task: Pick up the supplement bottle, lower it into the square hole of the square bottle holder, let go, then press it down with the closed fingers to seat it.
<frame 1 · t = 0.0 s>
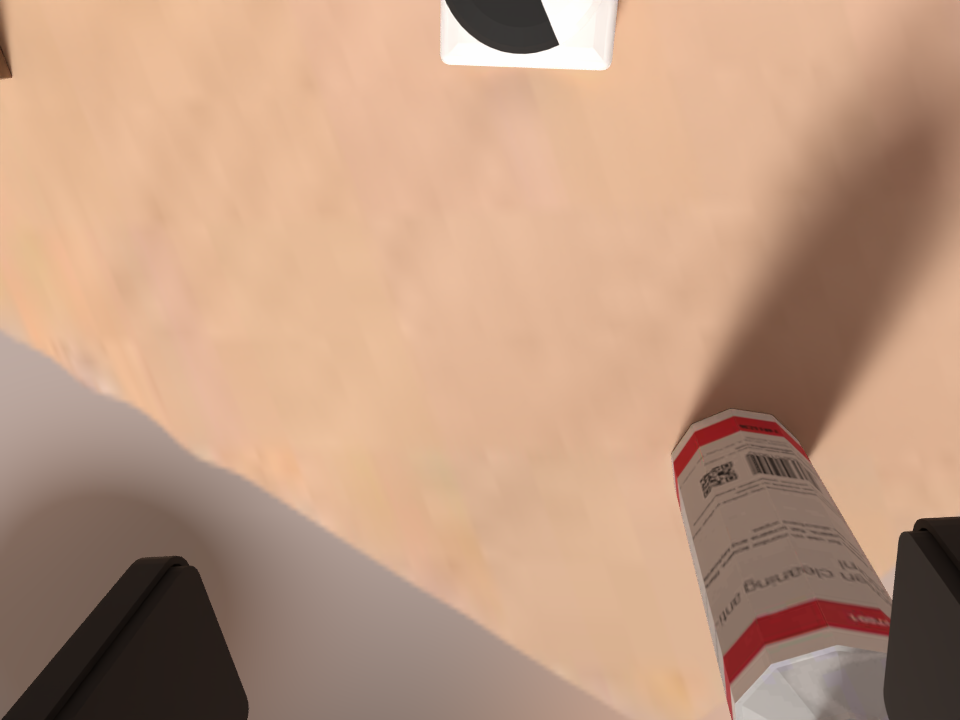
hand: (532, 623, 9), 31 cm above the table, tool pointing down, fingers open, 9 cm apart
spray bottle: (733, 462, 44), on the table
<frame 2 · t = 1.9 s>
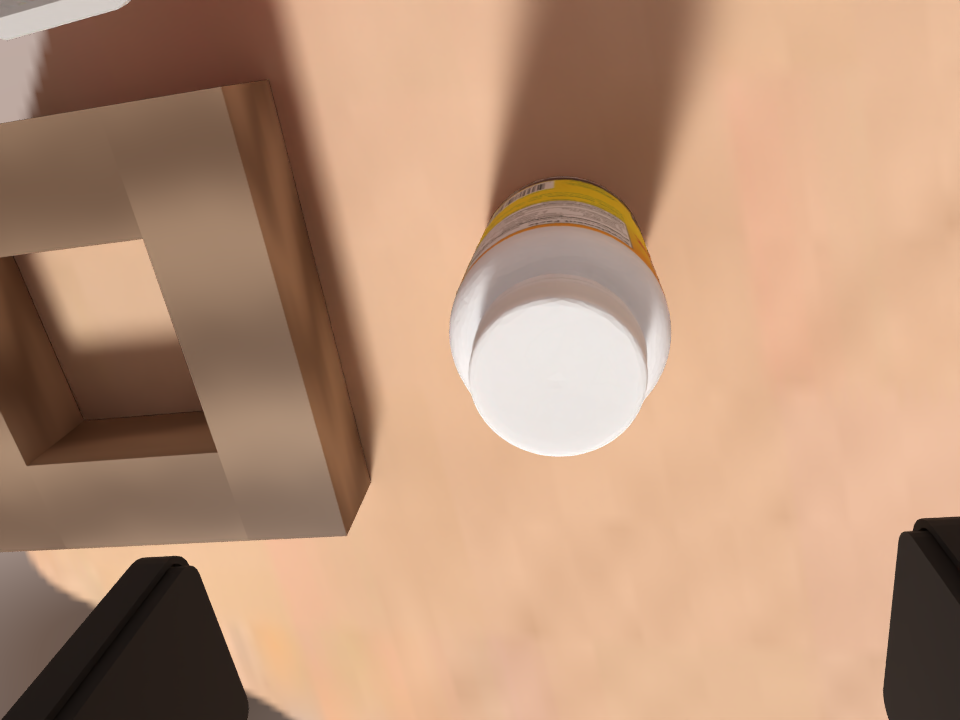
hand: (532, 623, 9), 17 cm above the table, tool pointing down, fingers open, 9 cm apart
square bottle holder: (135, 325, 28), on the table
supplement bottle: (562, 251, 25), on the table
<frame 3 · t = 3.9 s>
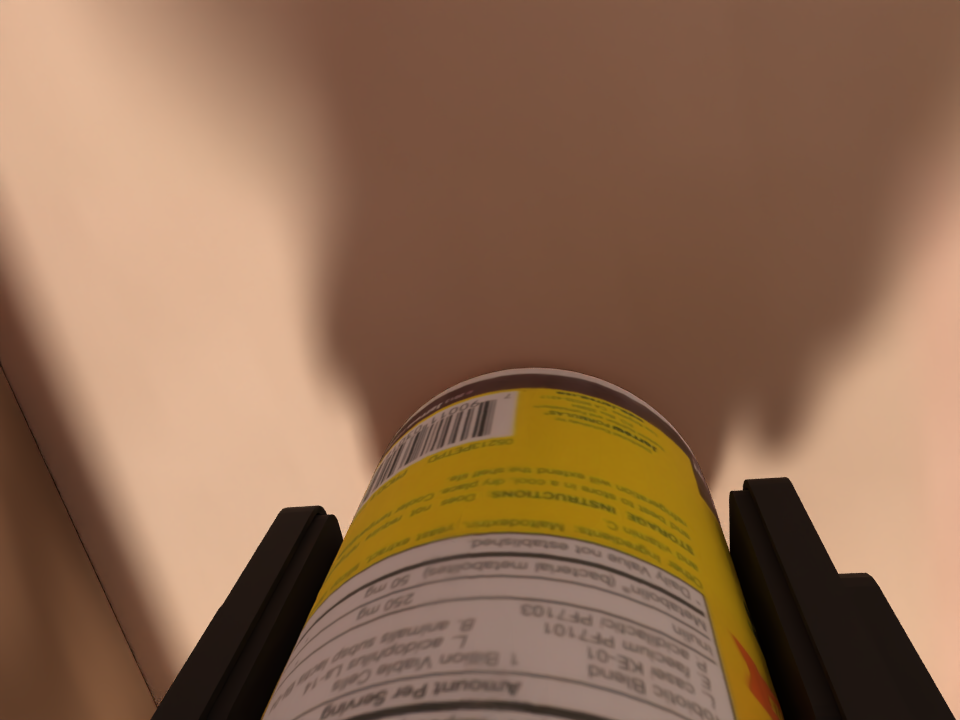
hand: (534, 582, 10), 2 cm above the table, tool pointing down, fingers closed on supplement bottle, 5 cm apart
supplement bottle: (540, 492, 12), on the table, touching gripper
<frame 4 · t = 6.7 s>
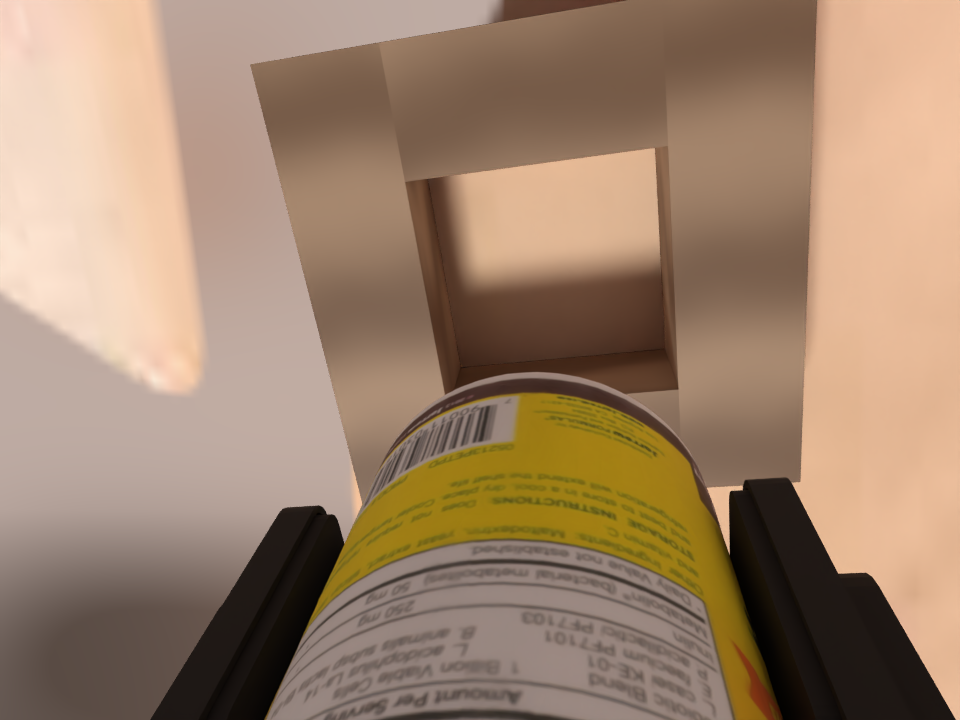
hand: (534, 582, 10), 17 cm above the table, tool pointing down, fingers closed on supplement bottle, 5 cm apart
square bottle holder: (549, 260, 26), on the table
supplement bottle: (540, 496, 12), point 15 cm above the table, touching gripper
when the fingers open (4 cm above the table, at t = 9.6 s): supplement bottle drops 2 cm, resting in square bottle holder.
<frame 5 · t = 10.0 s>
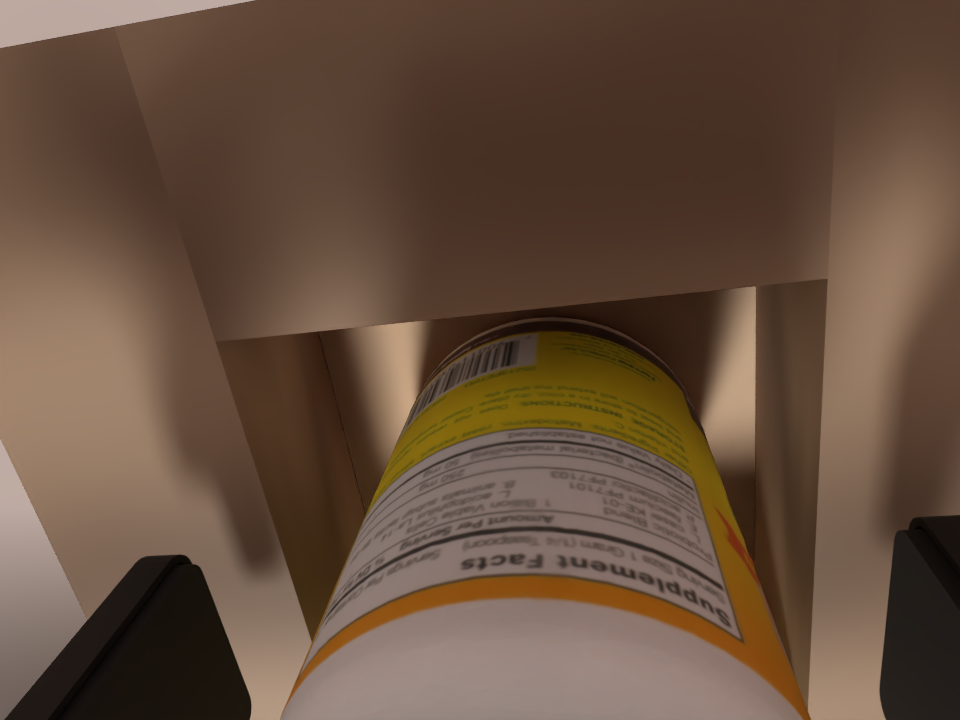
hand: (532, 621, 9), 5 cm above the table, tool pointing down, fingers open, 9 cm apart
square bottle holder: (543, 441, 14), on the table
supplement bottle: (553, 432, 14), resting in square bottle holder
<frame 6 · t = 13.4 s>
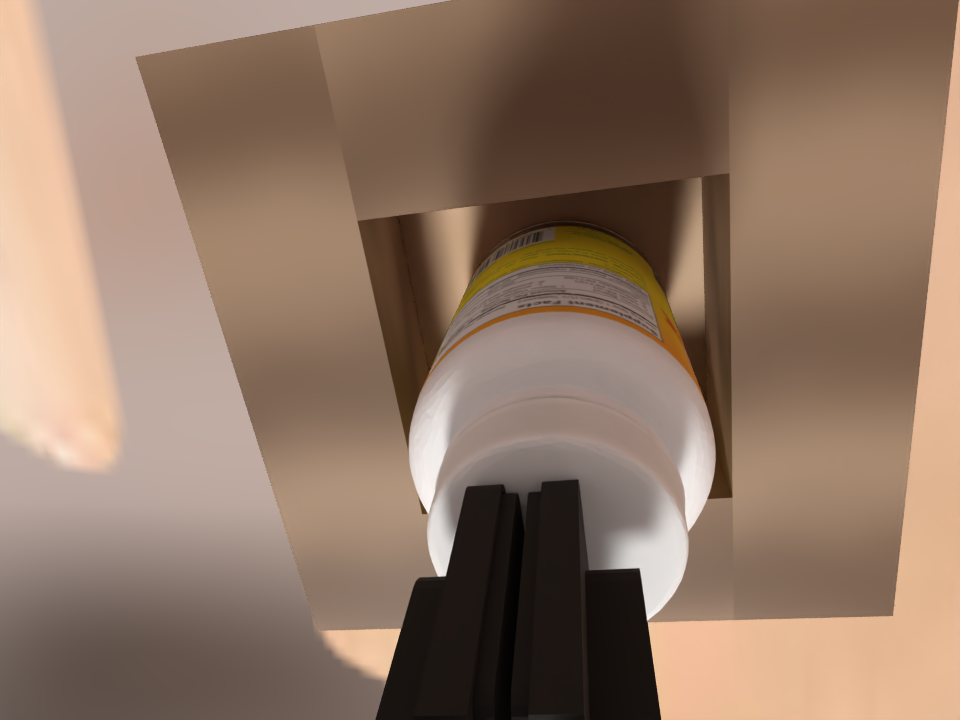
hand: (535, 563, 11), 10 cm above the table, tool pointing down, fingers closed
square bottle holder: (557, 314, 20), on the table
supplement bottle: (564, 309, 20), resting in square bottle holder, touching gripper
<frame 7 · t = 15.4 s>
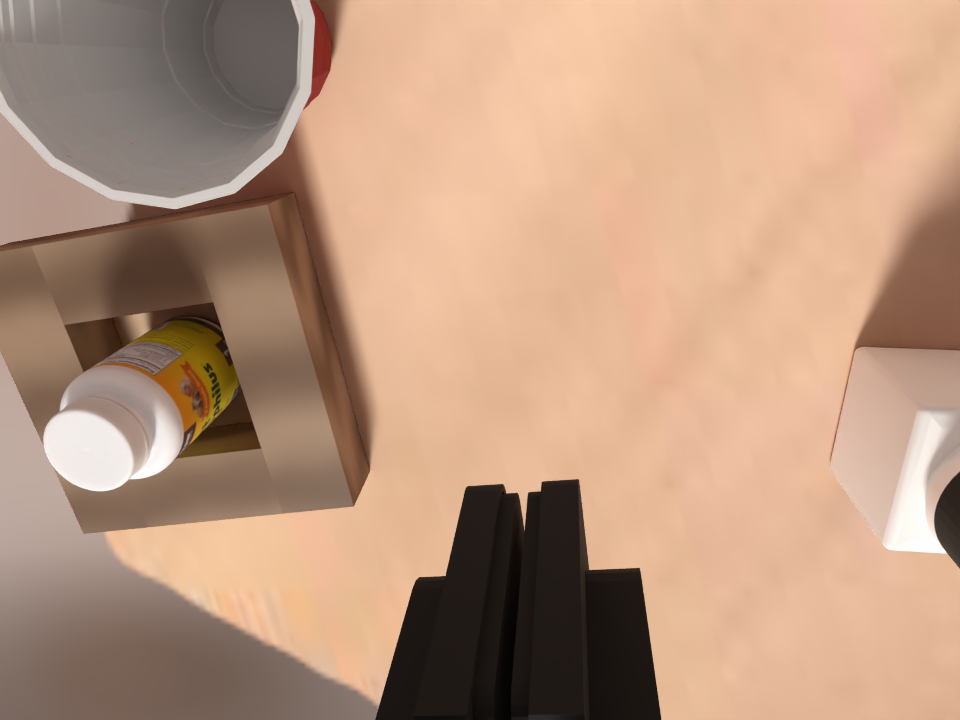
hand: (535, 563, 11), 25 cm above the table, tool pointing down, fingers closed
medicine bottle: (910, 410, 36), on the table
square bottle holder: (197, 361, 39), on the table
supplement bottle: (202, 358, 39), resting in square bottle holder
plastic cup: (277, 44, 32), on the table
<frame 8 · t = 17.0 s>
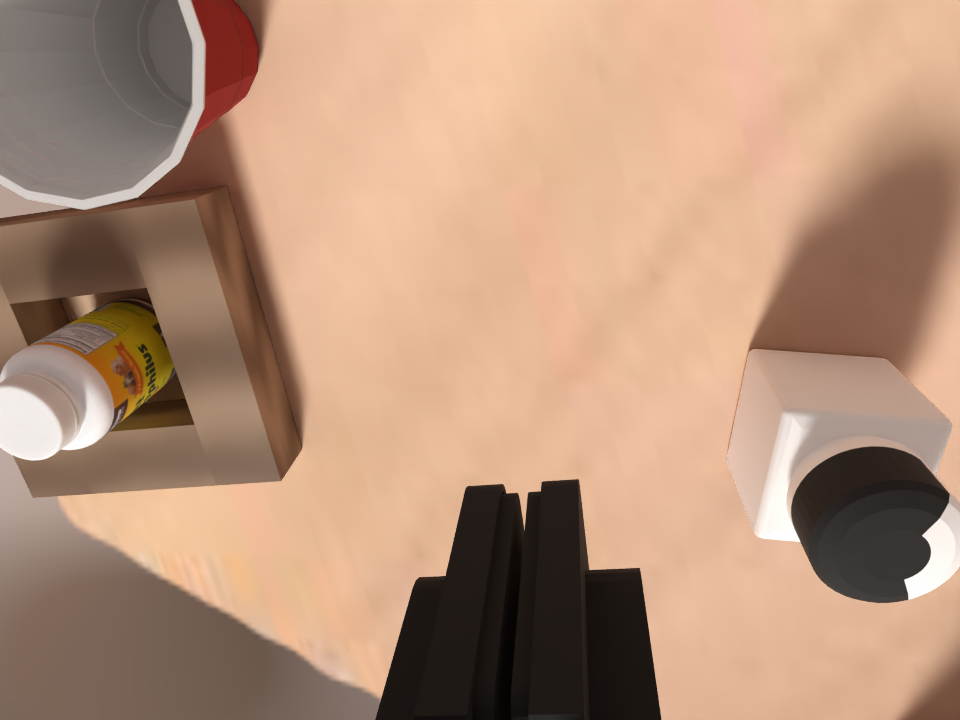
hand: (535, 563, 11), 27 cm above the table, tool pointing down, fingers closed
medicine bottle: (801, 409, 38), on the table
square bottle holder: (140, 341, 41), on the table
supplement bottle: (144, 338, 41), resting in square bottle holder
plastic cup: (208, 46, 34), on the table
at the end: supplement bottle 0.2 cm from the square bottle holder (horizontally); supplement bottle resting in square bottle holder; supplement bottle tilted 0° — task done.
